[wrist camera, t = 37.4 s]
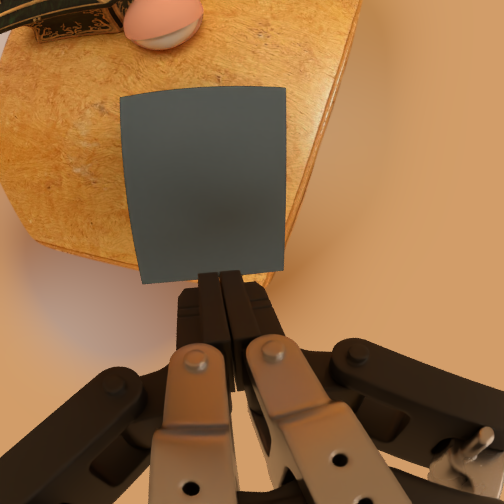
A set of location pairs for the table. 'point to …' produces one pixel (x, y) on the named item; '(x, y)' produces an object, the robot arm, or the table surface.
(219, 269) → the bin lid
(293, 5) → the table surface
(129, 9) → the toy ball
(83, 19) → the decorative box
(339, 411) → the robot arm
